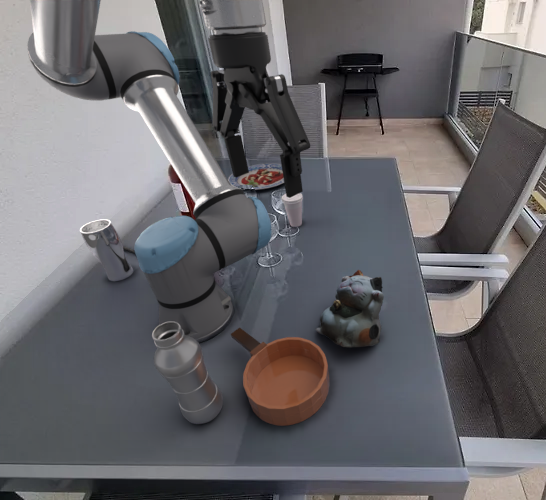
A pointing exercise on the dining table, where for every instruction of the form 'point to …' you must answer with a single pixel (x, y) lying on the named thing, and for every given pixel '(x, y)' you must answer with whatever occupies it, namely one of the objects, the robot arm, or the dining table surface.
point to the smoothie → (293, 209)
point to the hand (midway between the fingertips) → (266, 183)
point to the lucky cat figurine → (354, 312)
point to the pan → (287, 381)
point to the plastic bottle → (186, 373)
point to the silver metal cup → (107, 248)
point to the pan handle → (247, 341)
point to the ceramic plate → (260, 176)
